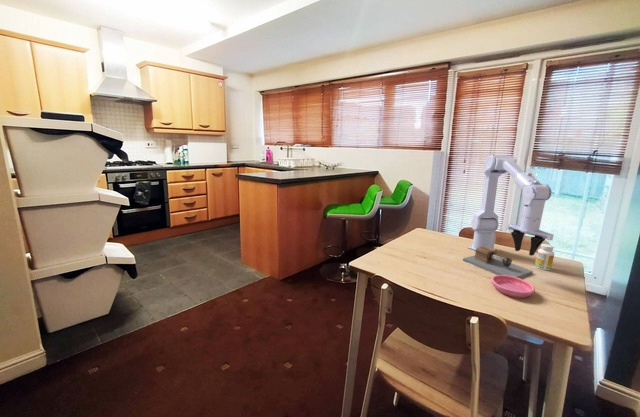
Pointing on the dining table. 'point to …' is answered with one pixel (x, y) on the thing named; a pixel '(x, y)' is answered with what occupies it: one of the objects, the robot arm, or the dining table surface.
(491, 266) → the base board
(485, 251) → the bearing block
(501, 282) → the saucer
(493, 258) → the shaft
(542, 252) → the supplement bottle
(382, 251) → the dining table surface
